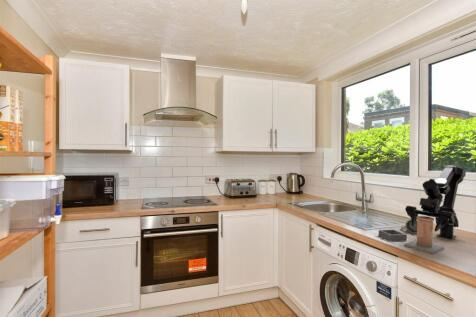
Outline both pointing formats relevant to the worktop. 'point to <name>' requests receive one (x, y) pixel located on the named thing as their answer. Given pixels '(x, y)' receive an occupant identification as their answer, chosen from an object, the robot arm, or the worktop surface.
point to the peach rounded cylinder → (424, 231)
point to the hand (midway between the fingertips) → (423, 228)
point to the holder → (393, 235)
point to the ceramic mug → (410, 227)
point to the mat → (433, 249)
